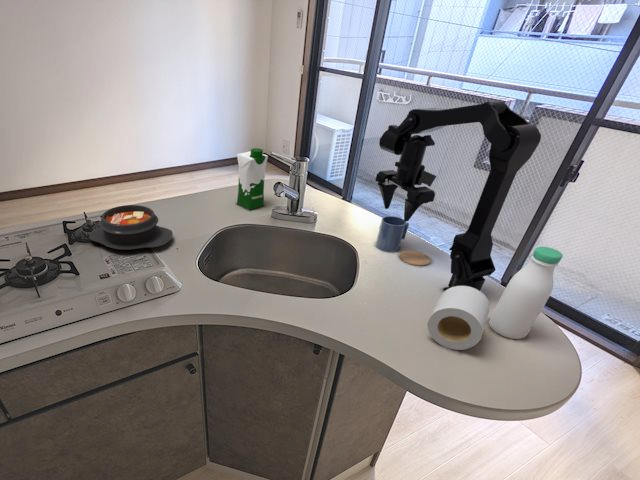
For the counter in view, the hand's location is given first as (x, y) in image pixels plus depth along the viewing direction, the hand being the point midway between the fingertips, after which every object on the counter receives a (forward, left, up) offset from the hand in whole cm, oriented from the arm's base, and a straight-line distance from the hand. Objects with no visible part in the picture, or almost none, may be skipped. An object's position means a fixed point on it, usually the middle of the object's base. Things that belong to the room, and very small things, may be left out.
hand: (396, 214), depth 114 cm
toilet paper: (-39, +11, -11) cm, 42 cm away
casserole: (+25, +74, -11) cm, 79 cm away
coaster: (-8, -3, -11) cm, 14 cm away
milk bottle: (-41, -3, -11) cm, 43 cm away
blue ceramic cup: (0, -1, -11) cm, 11 cm away
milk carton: (+42, +30, -11) cm, 52 cm away
